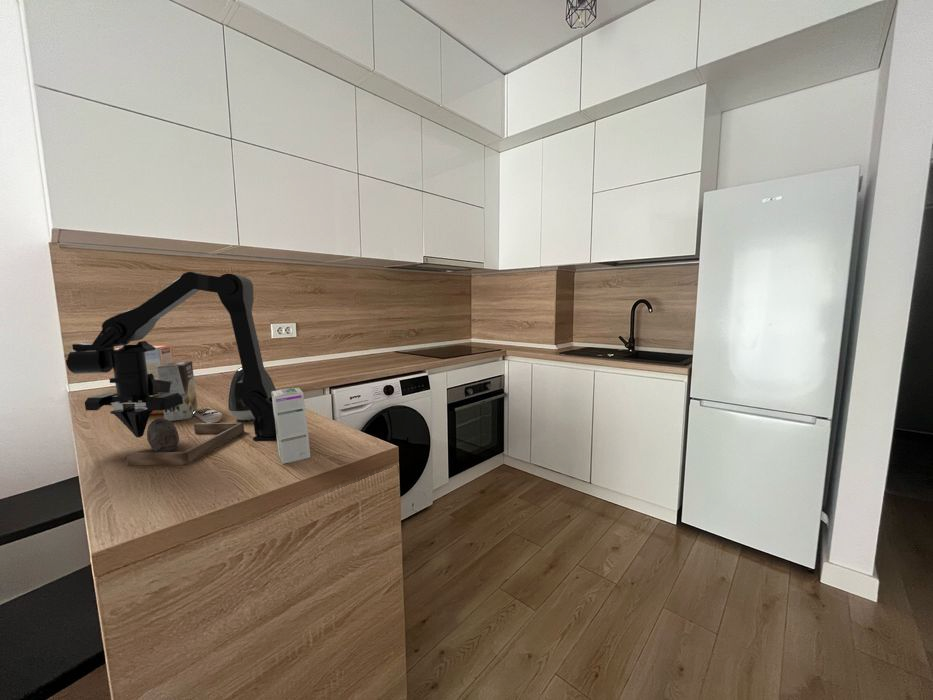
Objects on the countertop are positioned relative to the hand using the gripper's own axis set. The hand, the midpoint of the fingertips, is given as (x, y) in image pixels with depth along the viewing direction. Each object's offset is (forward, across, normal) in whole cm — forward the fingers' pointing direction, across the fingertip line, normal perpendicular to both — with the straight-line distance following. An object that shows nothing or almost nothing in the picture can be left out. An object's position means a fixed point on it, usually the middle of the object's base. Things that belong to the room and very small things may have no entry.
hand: (139, 436), depth 89 cm
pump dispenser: (+3, -13, -22) cm, 25 cm away
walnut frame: (+2, -12, 0) cm, 12 cm away
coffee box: (+3, +10, -24) cm, 27 cm away
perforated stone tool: (+3, -6, 0) cm, 6 cm away
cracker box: (+3, +24, -29) cm, 38 cm away
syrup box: (+2, -40, +6) cm, 41 cm away
